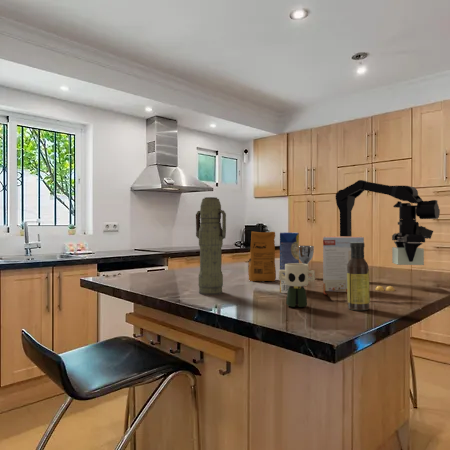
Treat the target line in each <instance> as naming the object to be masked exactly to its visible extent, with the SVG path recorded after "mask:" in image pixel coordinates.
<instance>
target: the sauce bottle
mask: <svg viewBox="0 0 450 450" xmlns="http://www.w3.org/2000/svg"><path fill="white" fill-rule="evenodd" d="M350 247H351V259H350V260H349V262H348V264H347V292H346V293H347V294H346V295H347V296H346V297H347V308H348V309H349V310H351V311H357V312H358V311H368V310H369V309H370V303H371V302H370V269H369V264H368V261H366V259H365V247H366V245H365V242H364V243H363V242H351V243H350Z"/></svg>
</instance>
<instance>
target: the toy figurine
mask: <svg viewBox="0 0 450 450" xmlns="http://www.w3.org/2000/svg"><path fill="white" fill-rule="evenodd" d="M282 273H285V277H282ZM309 275H311V277H312V278H309V277H310V276H309ZM278 280H279V281H280V280H284V281H285V283H286V284H287V285H289V286H290V287H289V288H288V293H286V302H285V303H286V305H287V306H289V307H293V308H294V307H296V306H298V308H304V307H307V306H308V300H307V293H306V288H305V286H308V285H309V282H315V280H316V271H315V270H314V269H313V270H310V269H309V263H308V264H303V263H302V262H301V263H300V262H299V263H289V264H285V270H280V269H279V270H278Z"/></svg>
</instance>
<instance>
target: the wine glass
mask: <svg viewBox="0 0 450 450" xmlns="http://www.w3.org/2000/svg"><path fill="white" fill-rule="evenodd" d="M314 250H315V246H314V245H299V262H301V263H302V264H308V265H309V263H310V261H311V260H312V259H313V257H314V252H315V251H314ZM309 278H312V276H309Z"/></svg>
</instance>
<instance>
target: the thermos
mask: <svg viewBox="0 0 450 450" xmlns="http://www.w3.org/2000/svg"><path fill="white" fill-rule="evenodd" d="M221 219H222V223H221ZM226 231H227V213H226V211H225V210H223V209H222V205H221V202H220V198H218V197H216V196H214V197H210V196H209V197H205V196H204V198H202V200H201V203H200V210H198V211H196V214H195V237H196V238H197V239H198V246H199V273H198V294H199V295H205V296H210V295H211V296H216V295H217V296H218V295H221V294H223V287H224V284H223V283H224V274H223V271H222V247H223V243H224V242H223V240H224V239H226V236H227V232H226Z"/></svg>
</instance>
